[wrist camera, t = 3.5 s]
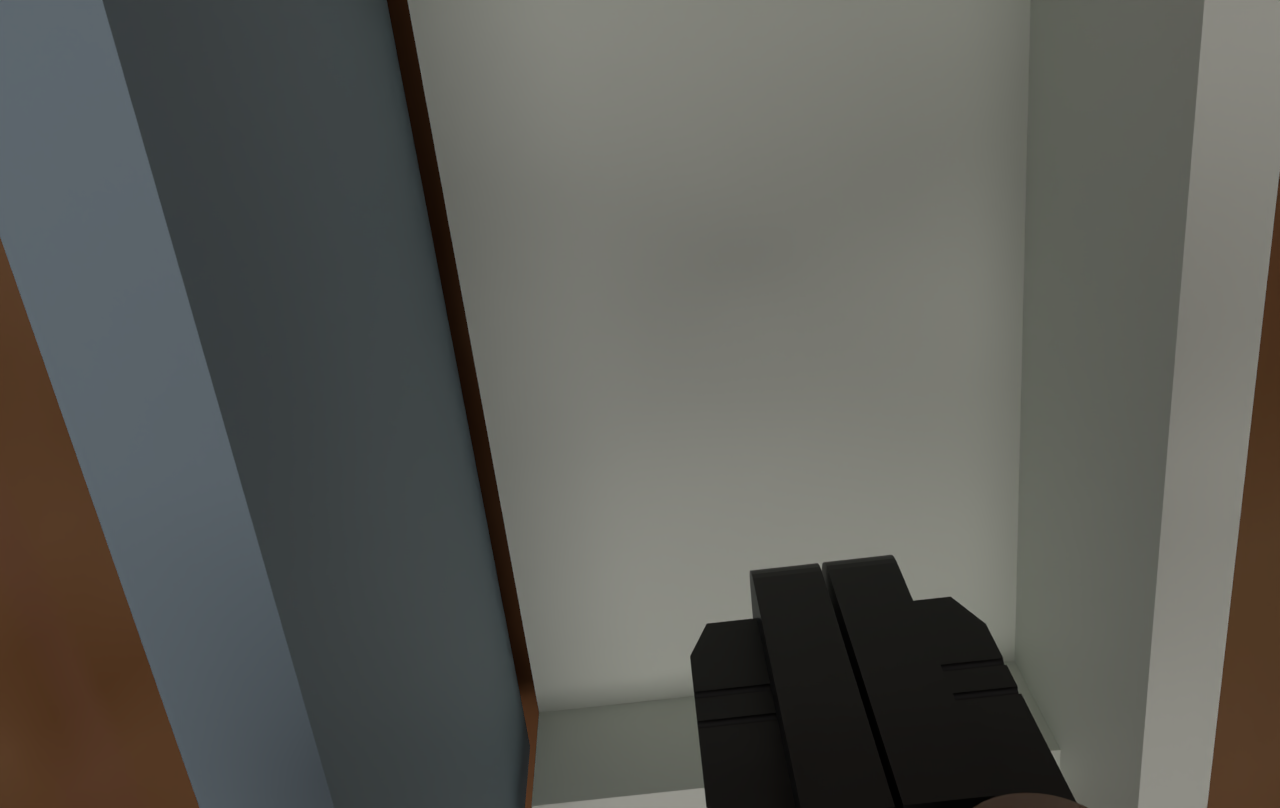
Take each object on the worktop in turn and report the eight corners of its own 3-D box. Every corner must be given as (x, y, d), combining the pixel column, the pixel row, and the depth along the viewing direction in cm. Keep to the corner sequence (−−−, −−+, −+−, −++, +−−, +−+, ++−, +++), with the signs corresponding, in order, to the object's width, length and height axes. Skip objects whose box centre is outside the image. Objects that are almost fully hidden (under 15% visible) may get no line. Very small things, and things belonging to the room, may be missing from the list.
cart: (1072, -302, 17) (1344, -403, 11) (1039, 651, 24) (1192, 928, 18) (385, -215, 17) (257, -266, 11) (549, 703, 25) (529, 995, 18)
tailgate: (370, -117, 17) (73, -102, 8) (531, 729, 24) (480, 1316, 14) (289, -107, 17) (-112, -81, 8) (471, 736, 24) (380, 1326, 14)
